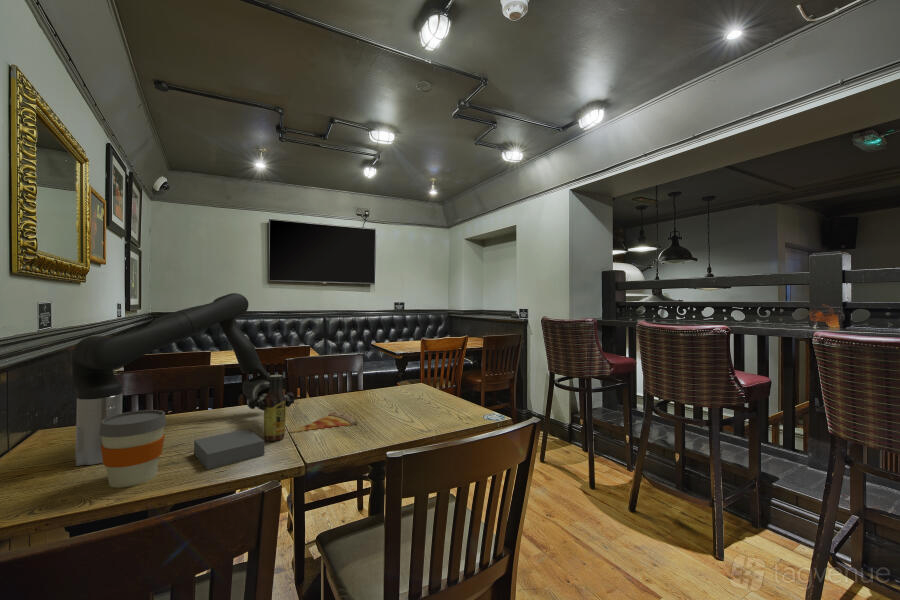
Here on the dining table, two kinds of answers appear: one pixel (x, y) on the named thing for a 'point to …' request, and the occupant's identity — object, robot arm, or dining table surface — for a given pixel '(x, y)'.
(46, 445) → the dining table surface
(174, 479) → the dining table surface
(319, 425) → the pizza slice
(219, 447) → the charcoal base
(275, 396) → the sauce bottle
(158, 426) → the reusable coffee cup
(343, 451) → the dining table surface
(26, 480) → the dining table surface
